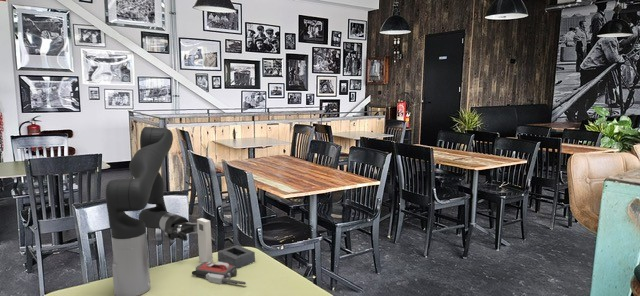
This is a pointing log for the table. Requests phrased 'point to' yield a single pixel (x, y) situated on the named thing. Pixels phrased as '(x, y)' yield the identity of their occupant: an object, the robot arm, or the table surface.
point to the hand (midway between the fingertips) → (197, 234)
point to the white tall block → (204, 240)
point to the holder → (236, 256)
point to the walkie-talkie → (217, 272)
